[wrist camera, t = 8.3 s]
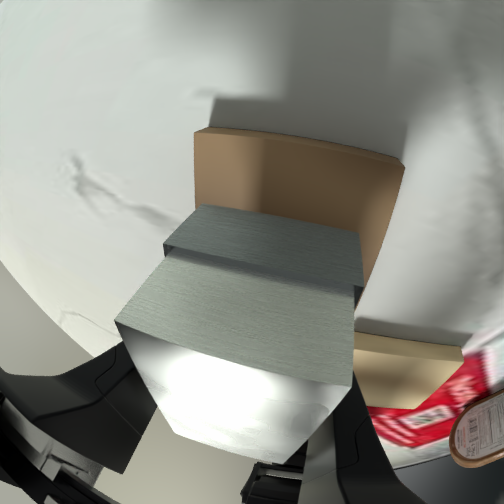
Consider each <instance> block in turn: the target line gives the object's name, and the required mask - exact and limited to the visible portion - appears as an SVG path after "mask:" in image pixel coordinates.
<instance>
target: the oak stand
mask: <svg viewBox="0 0 504 504" xmlns="http://www.w3.org/2000/svg"><path fill="white" fill-rule="evenodd" d="M463 363H464V359H463V355H462V351H461V347H459V346H450V345H441V344H433V343H425V342H417V341H410V340H403V339H396V338H390V337H384V336H377V335H371V334H365V333H360V332H354V355H353V371H354V373H355V376H356V378H357V381H358V384H359V386H360V389H361V392H362V395H363V397H364V400H365V403H366V406H374V407H386V408H402V409H415V408H416V407H418V406H419V405H420V404H421V403H422V402H423V401H425V400H426V399H427V398H428V397H429V396H430V395H431V394H432V393H434V392H435V391H436V390H437V389H438V388H439V387H440V386H441V385H442V384H443V383H444V382H445V381H446V380H447V379H448V378H449V377H450V376H451V375H452V374H453V373H454V372H455V371H456V370H457V369H458V368H459V367H460V366H461V365H462V364H463Z"/></svg>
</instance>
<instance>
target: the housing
mask: <svg viewBox="0 0 504 504" xmlns="http://www.w3.org/2000/svg"><path fill="white" fill-rule="evenodd" d="M163 248H164V255H165V258H164V259H163V261H162V262H161V263H160V264H159V265H158V266H157V268H156V269H155V270H154V271H153V272H152V274H151V275H150V276H149V277H148V278H147V280H146V281H145V282H144V283H143V284H142V286H141V287H140V288H139V289H138V290H137V292H136V293H135V294H134V295H133V297H132V298H131V299H130V300H129V302H128V303H127V304H126V305H125V307H124V308H123V309H122V310H121V312H120V313H119V314H118V315H117V317H116V318H115V319H114V321H115V324H116V326H117V328H118V331H119V333H120V335H121V337H122V339H123V342H124V344H125V346H126V348H127V350H128V352H129V354H130V356H131V358H132V360H133V362H134V364H135V366H136V368H137V370H138V372H139V374H140V376H141V377H142V379H143V381H144V383H145V385H146V386H147V388H148V390H149V392H150V394H151V395H152V397H153V399H154V400H155V402H156V404H157V405H158V407H159V409H160V410H161V412H162V413H163V415H164V417H165V418H166V420H167V421H168V423H169V425H170V426H171V428H172V429H173V431H174V432H175V433H177V434H179V435H182V436H184V437H187V438H190V439H193V440H195V441H198V442H201V443H204V444H207V445H210V446H213V447H216V448H219V449H222V450H226V451H229V452H233V453H236V454H240V455H244V456H248V457H252V458H256V459H260V460H265V461H269V462H274V463H279V464H283V463H284V462H285V461H286V460H287V459H289V458H290V457H291V456H292V455H293V454H294V453H295V452H296V451H297V450H298V449H299V448H300V447H301V446H302V444H303V443H304V442H305V441H306V440H307V439H308V438H309V437H310V436H311V435H312V434H313V433H314V432H315V431H316V429H317V428H318V427H319V426H320V425H321V424H322V423H323V422H324V420H325V419H326V418H327V417H328V416H329V415H330V413H331V412H332V411H333V410H334V409H335V408H336V406H337V405H338V404H339V403H340V401H341V400H342V399H343V398H344V396H345V395H346V394H347V393H348V391H349V390H350V389H351V387H352V375H353V355H354V311H355V308H356V306H357V304H358V301H359V299H360V297H361V294H362V292H363V290H364V287H365V286H364V274H363V263H362V253H361V245H360V236H359V233H357V232H352V231H348V230H343V229H339V228H334V227H329V226H325V225H320V224H315V223H310V222H305V221H300V220H295V219H290V218H285V217H279V216H274V215H269V214H263V213H258V212H252V211H247V210H241V209H235V208H229V207H223V206H217V205H211V204H205V203H202V204H201V205H200V206H199V207H198V208H197V209H196V210H195V211H194V212H193V213H192V214H191V215H190V216H189V217H188V218H187V219H186V220H185V221H184V222H183V223H182V224H181V225H180V226H179V227H178V228H177V229H176V230H175V231H174V232H173V233H172V234H171V236H170V237H169V238H168V239H167V240H166V241H165V242H164V243H163Z"/></svg>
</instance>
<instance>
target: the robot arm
mask: <svg viewBox="0 0 504 504" xmlns="http://www.w3.org/2000/svg"><path fill="white" fill-rule="evenodd" d="M157 406H158V405H157V404H156V402H155V400H154V399H153V397H152V395H151V394H150V392H149V390H148V388H147V386H146V385H145V383H144V381H143V379H142V377H141V376H140V374H139V372H138V370H137V368H136V366H135V364H134V362H133V360H132V358H131V356H130V354H129V352H128V350H127V348H126V346H125V344H124V342H123V341H122V342H120V343H119V344H117V346H114V347H112V348H111V349H109V350H107V351H106V352H104V353H102V354H101V355H99V356H97V357H96V358H94V359H92V360H90V361H88V362H86V363H84V364H82V365H80V366H78V367H76V368H74V369H72V370H70V371H68V372H65V373H63V374H60V375H56V376H28V375H27V376H26V375H14V374H9V373H7V372H5V371H4V370H3V369H2V368H1V367H0V480H1V481H3V482H6V483H8V484H11V485H13V486H16V487H19V488H21V489H23V491H24V492H26V494H28V495H29V496H30V497H31V498H32V499H33V500H34V501H35V502H36V503H37V504H120V503H118V502H116V501H115V500H113V499H111V498H110V497H108V496H106V495H104V494H103V493H101V492H100V491H98V490H97V489H95V488H94V487H93V486H94V485H95V483H96V481H97V479H98V477H99V475H100V473H101V471H102V470H103V468H104V467H106V468H108V469H110V470H113V471H115V472H117V473H120V474H123V473H124V471H125V469H126V467H127V465H128V463H129V461H130V459H131V457H132V455H133V453H134V451H135V449H136V447H137V445H138V443H139V441H140V440H141V437H142V435H143V433H144V431H145V430H146V428H147V426H148V424H149V422H150V420H151V418H152V416H153V414H154V412H155V410H156V408H157ZM266 474H271V475H277V476H284V477H291V478H300V479H302V480H299V479H290V478H283V477H276V476H269V475H266ZM240 494H241V496H242V504H427V503H426V502H425V501H423V500H422V499H421V498H420V497H418V496H417V495H416V494H415V493H413V492H412V491H411V490H410V489H409V488H407V487H406V486H405V485H404V484H403V483H402V482H401V481H400V480H399V479H398V477H397V476H396V474H395V472H394V470H393V468H392V466H391V464H390V462H389V459H388V457H387V455H386V453H385V451H384V449H383V447H382V445H381V443H380V440H379V438H378V436H377V433H376V431H375V428H374V425H373V423H372V420H371V417H370V415H369V411H368V409H367V406H366V403H365V400H364V397H363V395H362V392H361V389H360V386H359V384H358V381H357V378H356V376H355V373H354V371H353V375H352V387H351V389H350V390H349V391H348V393H347V394H346V395H345V396H344V398H343V399H342V400H341V401H340V403H339V404H338V405H337V406H336V408H335V409H334V410H333V411H332V412H331V413H330V415H329V416H328V417H327V418H326V419H325V420H324V422H323V423H322V424H321V425H320V426H319V427H318V428H317V429H316V431H315V432H314V433H313V434H312V435H311V436H310V437H309V438H308V439H307V440H306V441H305V442H304V443H303V444H302V446H301V447H300V448H299V449H298V450H297V451H296V452H295V453H294V454H293V455H292V456H291V457H290V458H289V459H287V460H286V461H285V462H284V463H283V464H279V463H274V462H272V465H270V464H264V463H262V462H257V464H254V467H253V471H252V473H251V475H250V477H249V479H248V481H247V482H246V484H245V486H244V487H243V489H242V490H241V493H240Z"/></svg>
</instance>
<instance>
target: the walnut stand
mask: <svg viewBox="0 0 504 504" xmlns="http://www.w3.org/2000/svg"><path fill="white" fill-rule="evenodd" d="M404 170H405V167H404V165H403V164H402V163H401V162H400V161H399V160H398V158H394V157H391V156H387V155H384V154H380V153H376V152H372V151H368V150H364V149H360V148H355V147H351V146H346V145H341V144H337V143H332V142H327V141H321V140H316V139H310V138H304V137H298V136H291V135H285V134H277V133H269V132H261V131H252V130H242V129H230V128H215V127H207V128H204V129H202V130H199V131H196V132H194V178H195V208H196V209H197V208H198V207H199V206H200V205H201V204H202V203H205V204H211V205H217V206H223V207H229V208H235V209H241V210H247V211H252V212H258V213H263V214H269V215H274V216H279V217H285V218H290V219H295V220H300V221H305V222H310V223H315V224H320V225H325V226H329V227H334V228H339V229H343V230H348V231H352V232H357V233H359V236H360V245H361V253H362V263H363V274H364V286H365V287H366V285H367V282H368V280H369V277H370V275H371V272H372V270H373V267H374V264H375V262H376V259H377V256H378V254H379V251H380V248H381V245H382V243H383V240H384V237H385V234H386V231H387V228H388V225H389V222H390V219H391V216H392V213H393V209H394V206H395V203H396V199H397V196H398V192H399V189H400V185H401V182H402V178H403V174H404ZM365 287H364V289H365ZM363 292H364V290H363ZM363 292H362V294H363ZM362 294H361V296H362ZM360 299H361V297H360ZM360 299H359V301H360ZM359 301H358V303H359ZM357 306H358V304H357ZM357 306H356V308H357ZM356 308H355V310H356ZM354 312H355V311H354Z"/></svg>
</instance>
